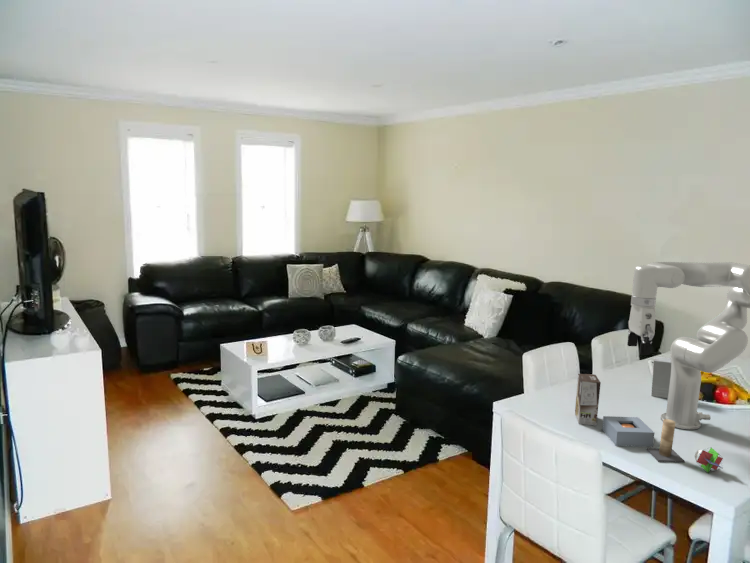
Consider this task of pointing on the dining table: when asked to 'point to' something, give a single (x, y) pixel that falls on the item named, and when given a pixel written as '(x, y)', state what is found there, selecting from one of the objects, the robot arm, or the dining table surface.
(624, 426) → the orange push button
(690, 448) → the dining table surface
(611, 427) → the grey button housing
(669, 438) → the beech dowel
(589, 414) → the coffee box
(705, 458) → the geometric puzzle
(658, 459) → the rubber pad
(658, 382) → the skincare box
